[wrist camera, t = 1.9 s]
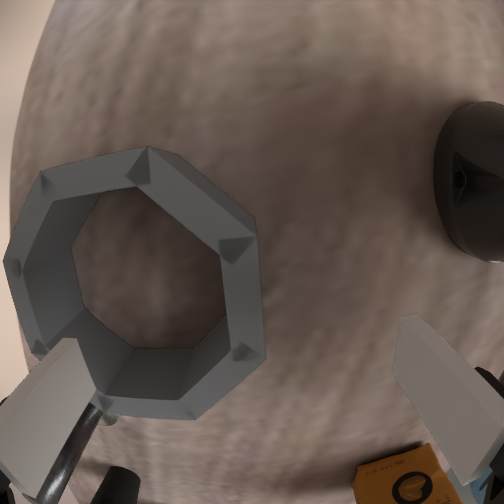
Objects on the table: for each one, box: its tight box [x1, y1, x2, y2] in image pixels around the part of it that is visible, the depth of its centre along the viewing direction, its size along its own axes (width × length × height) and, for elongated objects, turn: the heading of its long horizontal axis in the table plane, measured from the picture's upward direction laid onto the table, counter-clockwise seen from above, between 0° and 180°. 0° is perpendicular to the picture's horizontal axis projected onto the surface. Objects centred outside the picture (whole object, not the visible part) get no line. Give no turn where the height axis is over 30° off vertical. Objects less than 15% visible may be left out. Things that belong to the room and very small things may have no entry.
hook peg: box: [22, 402, 120, 504], centre depth 19 cm, size 6×6×16 cm
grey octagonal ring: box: [3, 146, 266, 420], centre depth 20 cm, size 18×18×7 cm
